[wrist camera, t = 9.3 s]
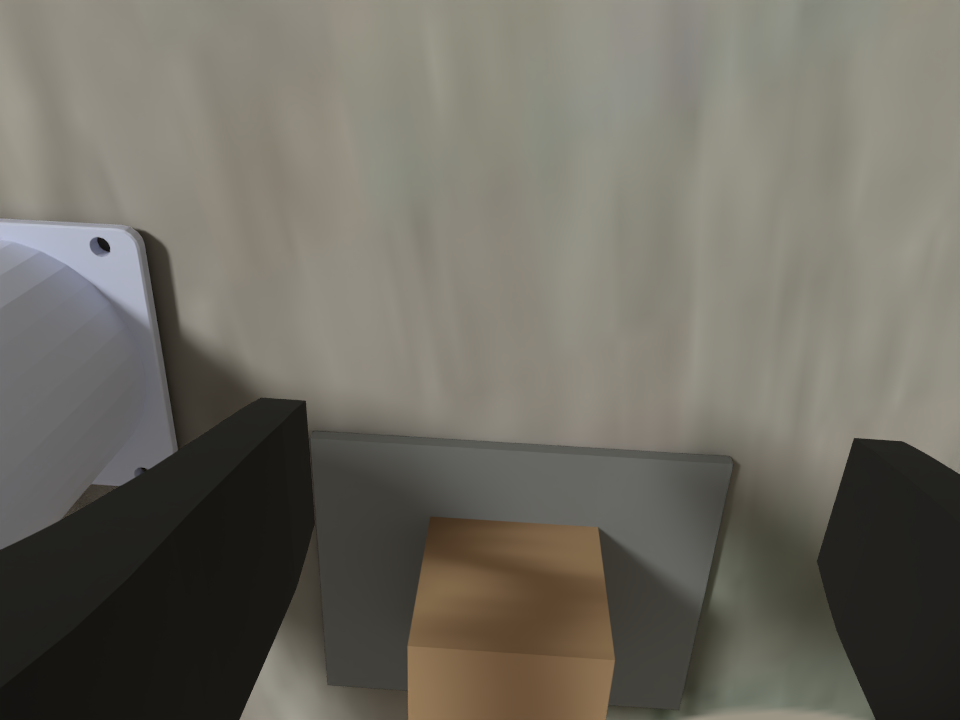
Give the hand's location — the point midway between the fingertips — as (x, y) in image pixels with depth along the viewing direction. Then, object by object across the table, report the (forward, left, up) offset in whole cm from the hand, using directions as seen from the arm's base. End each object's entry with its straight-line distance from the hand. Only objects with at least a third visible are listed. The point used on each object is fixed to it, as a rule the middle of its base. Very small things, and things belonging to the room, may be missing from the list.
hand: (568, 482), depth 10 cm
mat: (0, -11, -10) cm, 15 cm away
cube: (0, -11, -10) cm, 15 cm away
